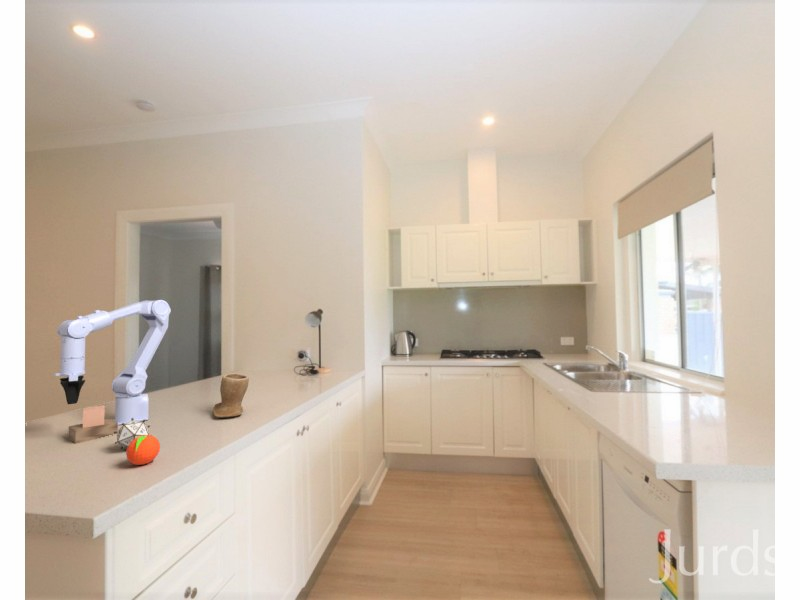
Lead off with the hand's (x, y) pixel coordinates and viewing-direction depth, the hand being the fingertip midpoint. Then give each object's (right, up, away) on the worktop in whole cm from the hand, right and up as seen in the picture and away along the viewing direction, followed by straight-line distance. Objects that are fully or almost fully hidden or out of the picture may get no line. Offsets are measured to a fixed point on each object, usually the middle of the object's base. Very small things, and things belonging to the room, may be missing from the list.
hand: (71, 401), depth 113 cm
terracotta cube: (+8, -7, -1) cm, 10 cm away
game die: (+28, -10, -12) cm, 32 cm away
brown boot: (+39, -11, +22) cm, 47 cm away
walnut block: (+8, -11, -1) cm, 13 cm away
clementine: (+39, -9, -23) cm, 46 cm away
